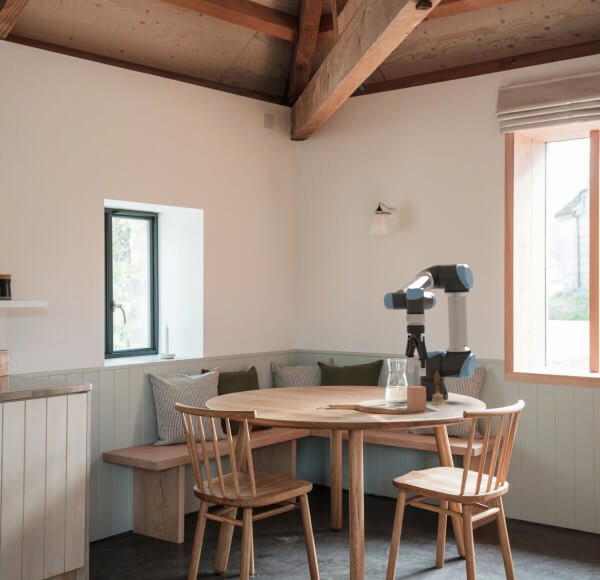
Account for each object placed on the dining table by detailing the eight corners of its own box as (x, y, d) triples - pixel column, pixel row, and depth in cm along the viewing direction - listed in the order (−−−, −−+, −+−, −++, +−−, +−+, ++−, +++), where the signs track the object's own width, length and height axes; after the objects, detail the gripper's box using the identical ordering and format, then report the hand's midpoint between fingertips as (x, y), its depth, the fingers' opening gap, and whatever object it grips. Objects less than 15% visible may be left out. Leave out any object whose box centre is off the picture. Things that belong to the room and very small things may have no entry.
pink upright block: (420, 408, 337) (420, 385, 337) (426, 410, 331) (425, 387, 331) (407, 409, 336) (406, 386, 336) (412, 411, 330) (411, 387, 330)
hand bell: (432, 408, 348) (431, 372, 348) (425, 406, 356) (425, 370, 356) (450, 408, 349) (449, 372, 349) (443, 405, 357) (442, 370, 358)
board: (426, 410, 342) (426, 407, 342) (438, 415, 328) (438, 411, 328) (395, 411, 339) (395, 408, 339) (406, 416, 325) (406, 412, 325)
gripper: (397, 323, 345) (398, 371, 345) (417, 325, 321) (418, 377, 321) (413, 322, 347) (414, 371, 347) (435, 325, 323) (436, 377, 323)
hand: (416, 374), depth 334 cm, fingers open, 13 cm apart
